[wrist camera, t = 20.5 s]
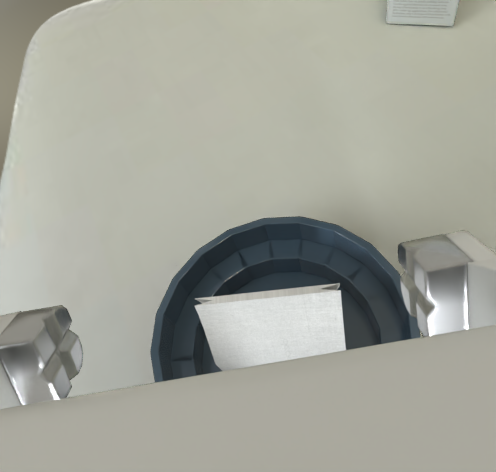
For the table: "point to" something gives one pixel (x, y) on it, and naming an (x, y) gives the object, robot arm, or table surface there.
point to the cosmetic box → (422, 12)
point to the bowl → (279, 287)
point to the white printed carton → (272, 325)
